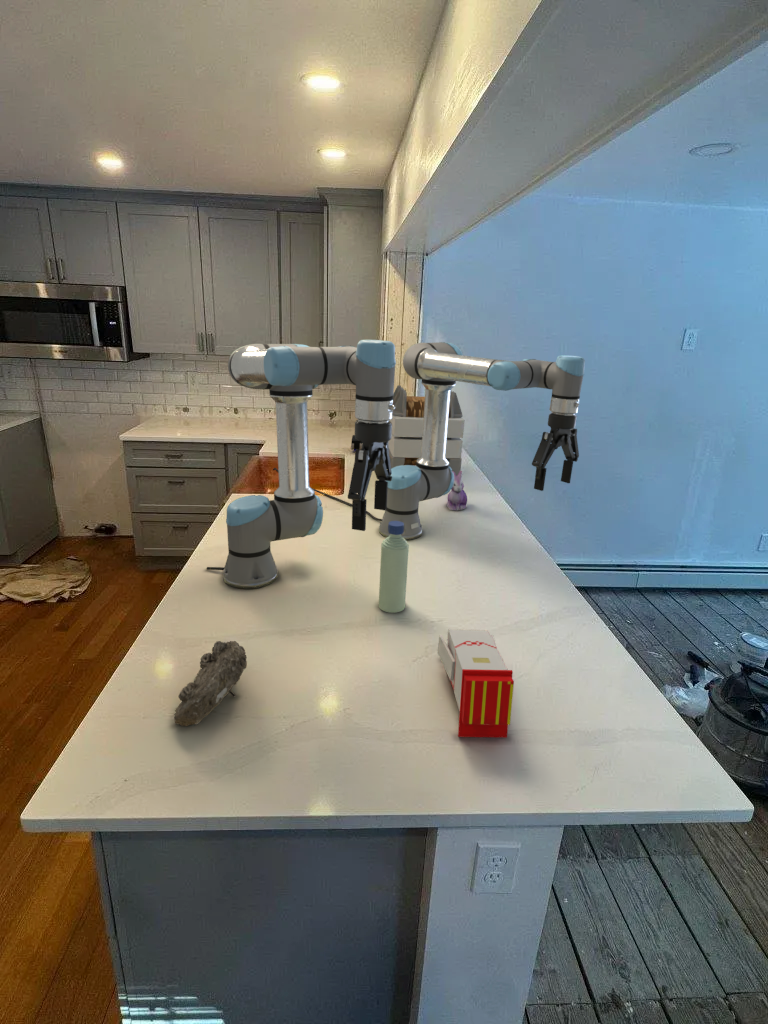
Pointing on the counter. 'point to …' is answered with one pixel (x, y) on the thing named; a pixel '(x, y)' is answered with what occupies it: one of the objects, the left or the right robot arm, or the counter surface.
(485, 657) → the toy
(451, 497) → the figurine
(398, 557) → the bottle
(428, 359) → the right robot arm
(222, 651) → the fossil
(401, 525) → the cap
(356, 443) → the figurine character
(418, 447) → the white slatted crate
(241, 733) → the counter surface
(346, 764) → the counter surface
